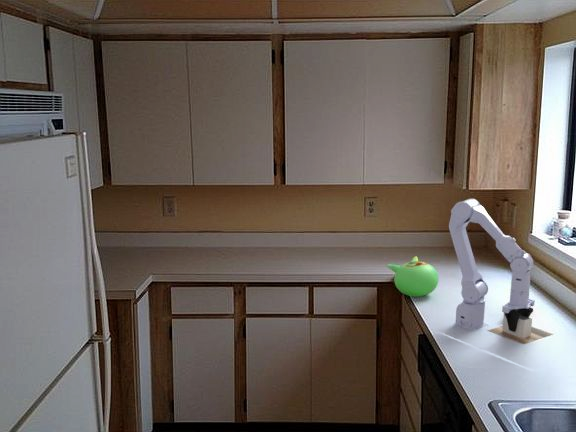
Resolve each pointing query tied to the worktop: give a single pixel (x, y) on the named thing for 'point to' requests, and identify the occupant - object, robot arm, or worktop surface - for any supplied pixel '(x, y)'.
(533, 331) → the board
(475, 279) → the robot arm
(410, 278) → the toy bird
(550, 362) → the worktop surface
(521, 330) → the block
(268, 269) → the worktop surface
